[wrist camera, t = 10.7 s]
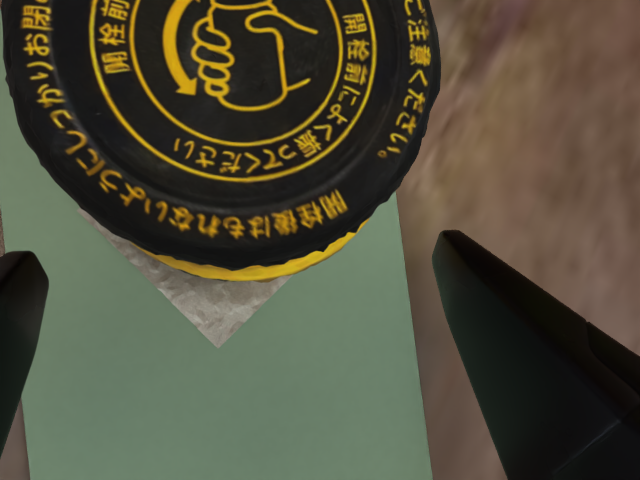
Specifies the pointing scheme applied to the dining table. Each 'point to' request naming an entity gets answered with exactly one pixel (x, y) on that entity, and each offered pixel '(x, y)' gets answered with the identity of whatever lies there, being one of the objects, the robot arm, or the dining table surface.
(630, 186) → the dining table surface
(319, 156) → the condiment
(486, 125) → the dining table surface
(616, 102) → the dining table surface
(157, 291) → the mat
